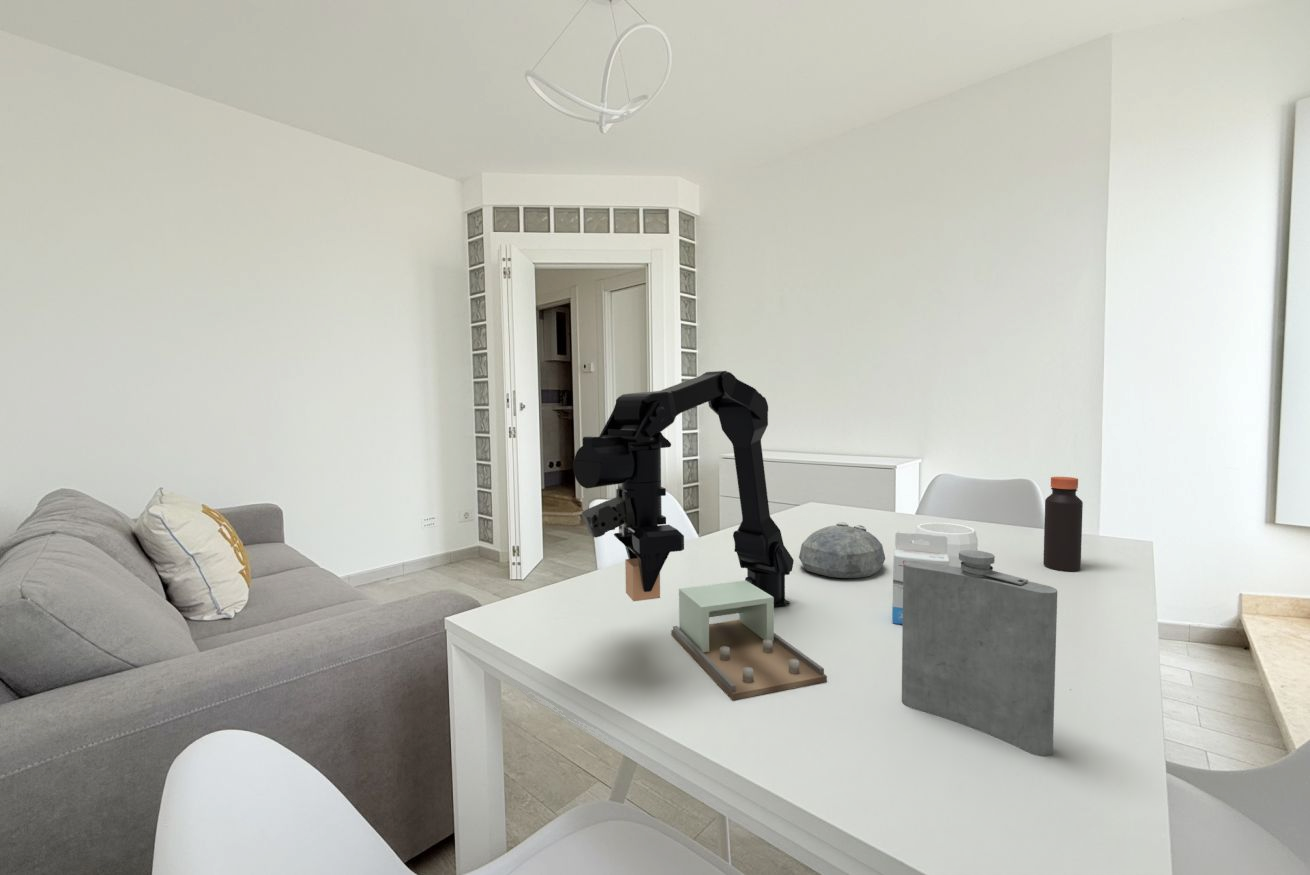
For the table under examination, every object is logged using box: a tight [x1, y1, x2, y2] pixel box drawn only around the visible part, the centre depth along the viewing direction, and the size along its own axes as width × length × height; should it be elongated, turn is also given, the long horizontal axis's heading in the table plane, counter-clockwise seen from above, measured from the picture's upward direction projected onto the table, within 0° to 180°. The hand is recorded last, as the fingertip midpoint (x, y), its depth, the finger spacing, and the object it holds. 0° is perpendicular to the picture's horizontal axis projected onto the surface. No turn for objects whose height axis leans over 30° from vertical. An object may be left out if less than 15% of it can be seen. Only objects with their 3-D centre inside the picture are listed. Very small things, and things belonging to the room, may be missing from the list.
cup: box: [913, 522, 979, 568], centre depth 125 cm, size 12×12×10 cm
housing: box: [678, 580, 775, 653], centre depth 90 cm, size 12×9×7 cm
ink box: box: [891, 531, 949, 626], centre depth 97 cm, size 9×5×15 cm, turn 65°
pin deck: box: [670, 619, 828, 701], centre depth 85 cm, size 14×22×2 cm, turn 19°
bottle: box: [1042, 476, 1084, 572], centre depth 127 cm, size 7×7×20 cm
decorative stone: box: [798, 521, 886, 579], centre depth 128 cm, size 18×21×10 cm
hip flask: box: [901, 549, 1058, 757], centre depth 66 cm, size 16×4×20 cm, turn 43°
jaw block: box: [624, 558, 661, 602], centre depth 84 cm, size 4×4×5 cm
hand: (642, 586), depth 84 cm, fingers closed on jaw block, 4 cm apart
